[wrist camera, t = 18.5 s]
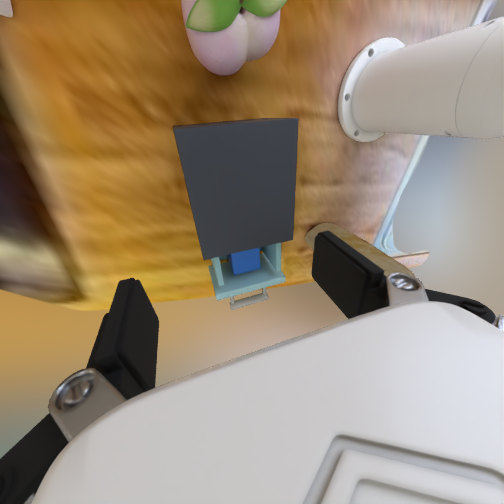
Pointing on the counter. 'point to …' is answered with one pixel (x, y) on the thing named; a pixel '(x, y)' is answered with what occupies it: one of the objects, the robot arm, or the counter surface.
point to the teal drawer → (247, 277)
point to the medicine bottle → (6, 8)
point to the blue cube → (244, 261)
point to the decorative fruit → (230, 31)
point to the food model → (359, 248)
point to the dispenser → (240, 182)
